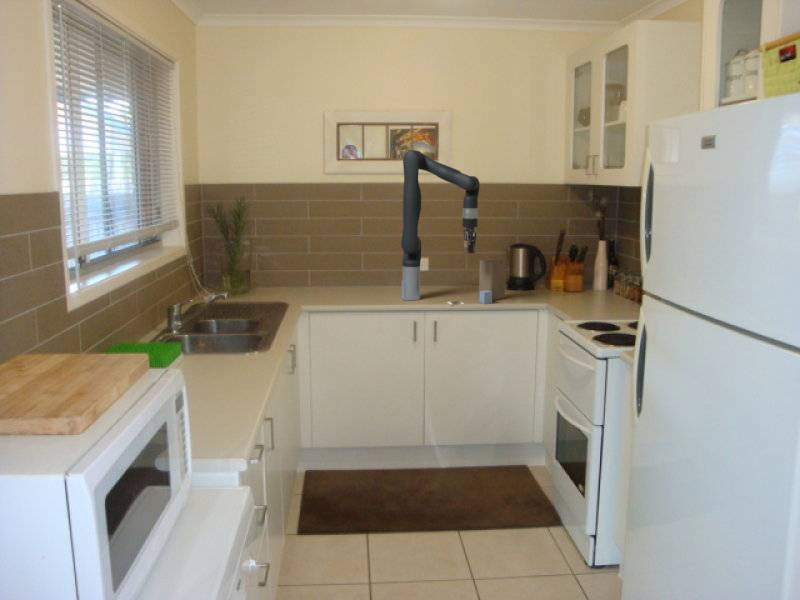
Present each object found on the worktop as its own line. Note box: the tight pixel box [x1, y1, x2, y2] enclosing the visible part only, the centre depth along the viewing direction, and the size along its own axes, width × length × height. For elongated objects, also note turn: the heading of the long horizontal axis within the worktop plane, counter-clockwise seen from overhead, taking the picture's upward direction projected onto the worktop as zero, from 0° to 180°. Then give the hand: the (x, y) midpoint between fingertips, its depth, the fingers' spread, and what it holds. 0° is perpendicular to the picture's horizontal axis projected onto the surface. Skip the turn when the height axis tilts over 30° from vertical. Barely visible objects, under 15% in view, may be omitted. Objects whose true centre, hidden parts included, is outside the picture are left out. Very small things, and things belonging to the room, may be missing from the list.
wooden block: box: [478, 258, 507, 301], centre depth 364 cm, size 10×10×20 cm
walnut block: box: [463, 240, 476, 255], centre depth 350 cm, size 4×4×6 cm
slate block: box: [478, 290, 493, 305], centre depth 353 cm, size 4×4×6 cm
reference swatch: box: [446, 300, 465, 306], centre depth 353 cm, size 7×7×1 cm
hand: (469, 251), depth 350 cm, fingers closed on walnut block, 4 cm apart
